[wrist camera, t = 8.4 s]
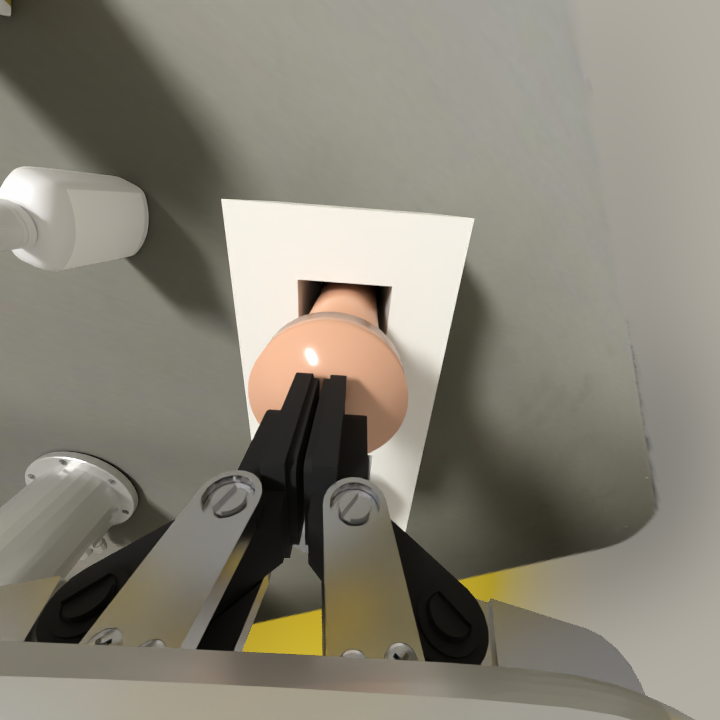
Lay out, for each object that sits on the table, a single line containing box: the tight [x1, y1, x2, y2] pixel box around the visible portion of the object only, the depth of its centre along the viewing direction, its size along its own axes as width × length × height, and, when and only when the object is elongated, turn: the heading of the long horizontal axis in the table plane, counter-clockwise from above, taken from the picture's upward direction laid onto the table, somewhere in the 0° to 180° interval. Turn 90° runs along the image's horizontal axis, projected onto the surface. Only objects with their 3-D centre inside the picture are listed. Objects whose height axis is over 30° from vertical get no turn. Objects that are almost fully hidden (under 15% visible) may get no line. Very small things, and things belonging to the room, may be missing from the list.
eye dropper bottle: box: [0, 166, 149, 271], centre depth 18 cm, size 4×6×12 cm
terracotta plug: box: [248, 282, 408, 453], centre depth 17 cm, size 6×6×14 cm
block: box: [221, 199, 474, 532], centre depth 24 cm, size 24×12×10 cm, turn 176°
